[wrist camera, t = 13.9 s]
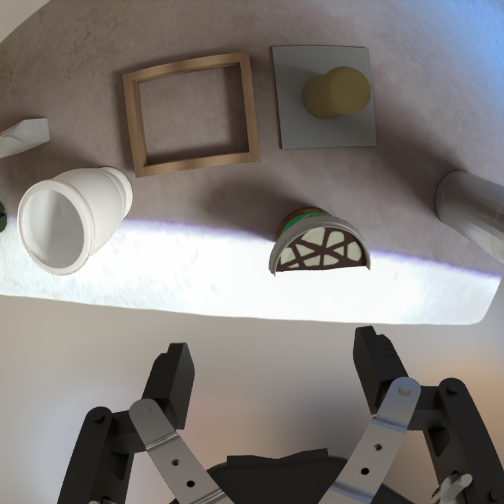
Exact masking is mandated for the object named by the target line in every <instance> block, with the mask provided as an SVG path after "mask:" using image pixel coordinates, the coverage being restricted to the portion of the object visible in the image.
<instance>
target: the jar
mask: <svg viewBox="0 0 504 504" xmlns="http://www.w3.org/2000/svg"><path fill="white" fill-rule="evenodd" d="M132 198H133V194H132V188H131V185H130V183H129V181H128V179H127V178H126V176H125V175H124V174H123V173H121V172H120V171H119V170H117V169H115V168H111V167H102V168H88V169H87V168H81V169H74V170H70V171H67V172H64V173H62V174H60V175H58V176H56V177H54V178H53V179H49V180H44V181H41V182H39V183H37V184H35V185H33V186H32V187H31V188H29V189H28V190H27V192H26V193H25V194H24V196H23V198H22V200H21V202H20V205H19V209H18V215H17V225H18V232H19V236H20V240H21V242H22V245H23V247H24V249H25V251H26V252H27V254H28V255H29V257H30V258H31V259H32V261H33V262H34V263H35V264H36V265H38V266H39V267H40V268H41V269H43V270H45V271H47V272H49V273H51V274H55V275H69V274H72V273H74V272H76V271H77V270H79V269H80V268H81V267H82V266H83V265H84V264H85V263H86V262H87V260H88V259H89V257H90V256H91V255H93V254H95V253H96V252H97V251H99V250H100V249H101V248H102V247H103V246H104V245H105V244H106V243H107V242H108V241H109V240H110V238H111V237H112V236H113V234H114V232H115V231H116V229H117V227H118V226H119V224H120V223H121V221H122V219H123V218H124V217H125V216H126V215H127V213H128V212H129V210H130V208H131V205H132Z"/></svg>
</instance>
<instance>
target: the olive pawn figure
mask: <svg viewBox="0 0 504 504" xmlns="http://www.w3.org/2000/svg"><path fill="white" fill-rule="evenodd" d="M370 98H371V87H370V84H369V81H368V80H367V78H366V77H365V76H364V74H362V73H361V72H360V71H358V70H357V69H354V68H352V67H347V66H339V67H336V68H333V69H332V70H330V71H329V72H327V73H326V74H325V75H320V76H316V77H313V78H311V79H310V80H309V81H307V83H306V84H305V85H304V87H303V90H302V102H303V104H304V107H305V108H306V109H307V111H308V112H309V113H310V114H312V115H313V116H315V117H317V118H320V119H332V118H335V117H337V116H339V115H340V114H343V115H353V114H356V113H359V112H360V111H362V110H363V109H365V107H366V106H367V105H368V103H369V102H370Z"/></svg>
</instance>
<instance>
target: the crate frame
mask: <svg viewBox="0 0 504 504" xmlns="http://www.w3.org/2000/svg"><path fill="white" fill-rule="evenodd" d="M238 65H240V67H241V76H242V86H243V95H244V104H245V114H246V123H247V133H248V142H249V151H243V152H234V153H225V154H217V155H209V156H201V157H194V158H187V159H181V160H174V161H168V162H162V163H156V164H150V165H149V163H148V157H147V150H146V143H145V136H144V128H143V120H142V112H141V104H140V94H139V84H138V83H141V82H145V81H149V80H153V79H158V78H162V77H167V76H172V75H177V74H183V73H188V72H194V71H200V70H207V69H214V68H221V67H229V66H238ZM123 86H124V96H125V105H126V114H127V122H128V130H129V137H130V144H131V151H132V157H133V164H134V170H135V176H136V178H139V177H144V176H150V175H156V174H162V173H168V172H175V171H182V170H188V169H196V168H203V167H211V166H219V165H227V164H236V163H246V162H256V161H260V152H259V142H258V132H257V122H256V112H255V102H254V93H253V84H252V75H251V65H250V56H249V52H240V53H230V54H222V55H215V56H208V57H201V58H195V59H189V60H184V61H178V62H173V63H169V64H164V65H159V66H155V67H151V68H146V69H142V70H138V71H135V72H131V73H127V74H123Z"/></svg>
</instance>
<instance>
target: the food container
mask: <svg viewBox="0 0 504 504" xmlns="http://www.w3.org/2000/svg"><path fill="white" fill-rule="evenodd" d="M357 266H366V267H367V268H368V269H369V270H370V254H369V251H368V247H367V244H366V242H365V240H364V238H363V236H362V234H361V233H360V232H359V231H358V229H357V228H355V227H354V226H353V225H352V224H350V223H349V222H347V221H345V220H343V219H340V218H338V217H333V216H332V215H330V214H329V213H327V212H325V211H324V210H322V209H319V208H315V207H306V208H301V209H298V210H296V211H294V212H292V213H291V214H289V215H288V216H287V217H286V218H285V219H284V220H283V222H282V223H281V225H280V227H279V229H278V231H277V236H276V244H275V245H274V247H273V250H272V252H271V255H270V259H269V270H270V272H271V273H272V274H274V276H275V272H283V271H293V270H329V269H335V268H343V267H357Z"/></svg>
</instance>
